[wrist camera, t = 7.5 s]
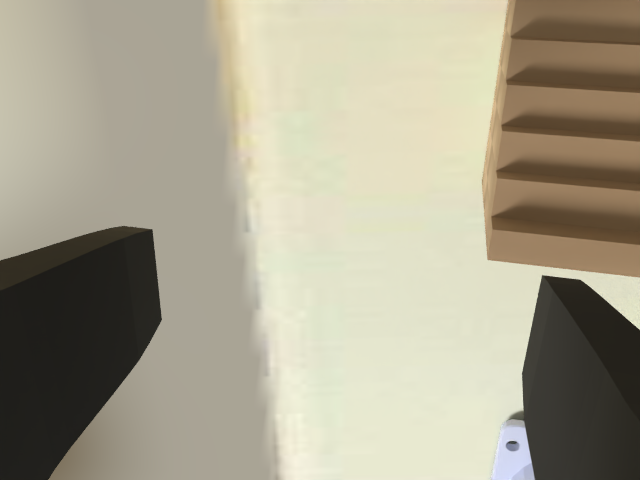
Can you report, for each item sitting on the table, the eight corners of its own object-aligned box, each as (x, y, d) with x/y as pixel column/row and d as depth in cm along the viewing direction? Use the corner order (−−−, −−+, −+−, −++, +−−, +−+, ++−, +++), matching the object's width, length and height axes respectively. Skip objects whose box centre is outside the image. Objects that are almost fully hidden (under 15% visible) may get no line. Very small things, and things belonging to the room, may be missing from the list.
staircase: (682, 200, 19) (765, 291, 13) (481, 181, 20) (487, 259, 14) (767, -88, 15) (921, -114, 10) (521, -91, 16) (546, -114, 11)
